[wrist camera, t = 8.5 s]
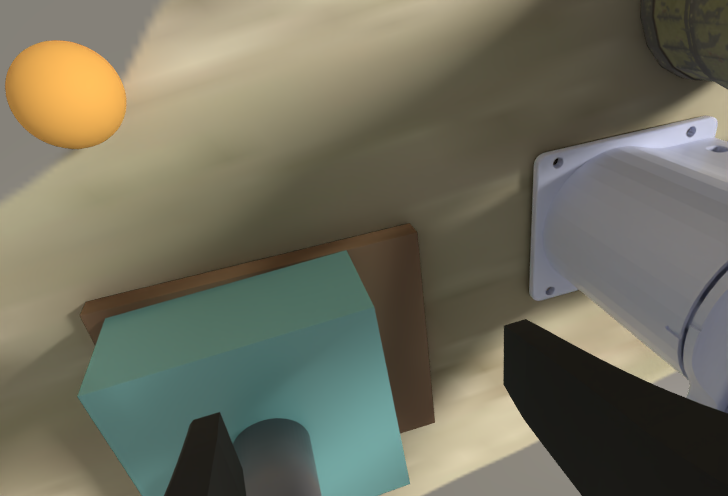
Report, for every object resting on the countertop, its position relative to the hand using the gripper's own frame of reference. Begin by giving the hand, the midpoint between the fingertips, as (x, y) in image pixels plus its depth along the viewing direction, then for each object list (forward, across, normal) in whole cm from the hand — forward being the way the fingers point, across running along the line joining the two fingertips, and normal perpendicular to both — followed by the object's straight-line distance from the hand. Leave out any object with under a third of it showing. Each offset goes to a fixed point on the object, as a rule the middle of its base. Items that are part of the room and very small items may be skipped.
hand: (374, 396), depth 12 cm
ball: (+11, +6, -7) cm, 14 cm away
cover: (+9, +3, +6) cm, 12 cm away
